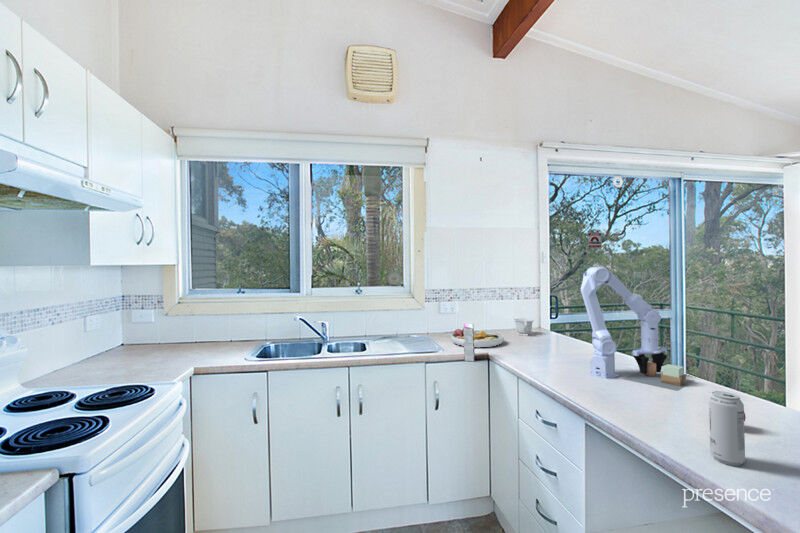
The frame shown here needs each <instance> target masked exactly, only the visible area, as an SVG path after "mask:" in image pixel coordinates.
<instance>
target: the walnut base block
mask: <svg viewBox="0 0 800 533" xmlns="http://www.w3.org/2000/svg"><path fill="white" fill-rule="evenodd" d="M660 374H661V383H666V384H670V385H675V386H682V385H684V384H685V383H686V379H687V374H684V375H683V376H681V377H679V378H678V377H673V376H668V375H663V373H660Z"/></svg>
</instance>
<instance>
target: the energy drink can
mask: <svg viewBox="0 0 800 533" xmlns="http://www.w3.org/2000/svg"><path fill="white" fill-rule="evenodd" d="M708 411H709V412H708V414H709V415H708V417H709V418H708V419H709V453H710V454H711V455H712V457H713V459H714V460H716V461H717V462H719V463H721V464H724V465H727V466H733V467H739V466H742V465H743V463H745V462H746V445H745V444H746V442H745V437H746V436H745V422H744V413H745V405H744V403H743V401H742V400H741V396H740V395H738V394H736V393H733V392H727V391H718V390H717V391H716V390H715V391H712V392H711V396H709V398H708Z"/></svg>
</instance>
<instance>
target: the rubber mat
mask: <svg viewBox="0 0 800 533" xmlns="http://www.w3.org/2000/svg"><path fill="white" fill-rule="evenodd" d="M656 373H657V376H656V377H649V376H645V375H644V374H643V373H641V372H640V370H639V371H637V372H634V373H632V374H631V375H628V376H626V377H624V378H622V380H624V381H629V382H633V383H639V384H643V385H644V384H645V385H647V386H652V387H658V388H660V389H661V388H662V389H666V390H671V391H677V392H678V391H680V390H682V389H683V388H685V387H687V386H688V385H690V384H692V383H694V382H695V379H690V378H686V383H685V384H684V385H682V386H675V385H670V384H666V383H661V374H662V373H658V372H656Z"/></svg>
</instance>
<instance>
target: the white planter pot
mask: <svg viewBox="0 0 800 533" xmlns="http://www.w3.org/2000/svg"><path fill="white" fill-rule="evenodd" d="M513 321H514V322H515V330H516V332H518V334H529V335H530V333H531V332H532V328H533V322H534V319H532V318H525V317H524V318H514V320H513Z"/></svg>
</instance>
